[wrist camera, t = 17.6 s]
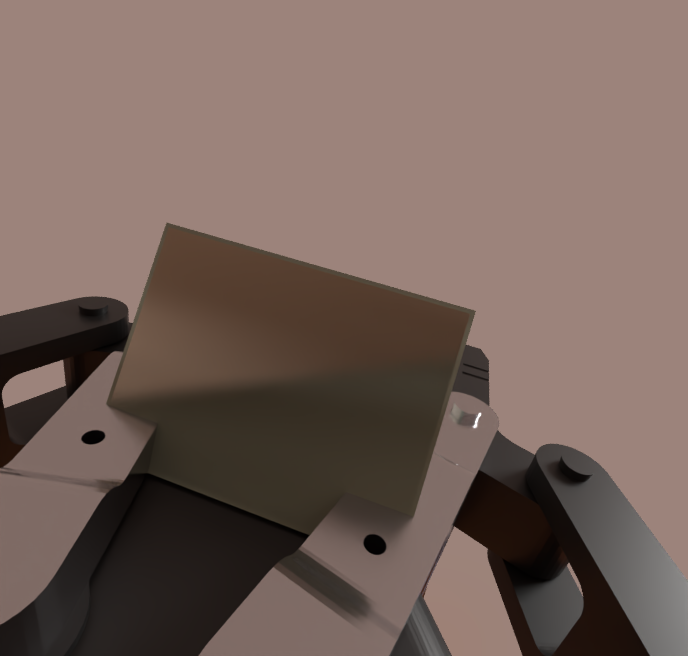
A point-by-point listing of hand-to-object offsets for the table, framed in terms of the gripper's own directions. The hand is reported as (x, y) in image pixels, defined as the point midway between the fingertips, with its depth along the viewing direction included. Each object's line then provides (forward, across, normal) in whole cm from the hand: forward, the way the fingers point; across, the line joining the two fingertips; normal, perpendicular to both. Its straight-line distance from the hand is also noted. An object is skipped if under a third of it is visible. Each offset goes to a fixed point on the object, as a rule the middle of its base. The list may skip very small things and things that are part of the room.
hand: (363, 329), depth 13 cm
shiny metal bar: (+3, 0, +5) cm, 5 cm away
